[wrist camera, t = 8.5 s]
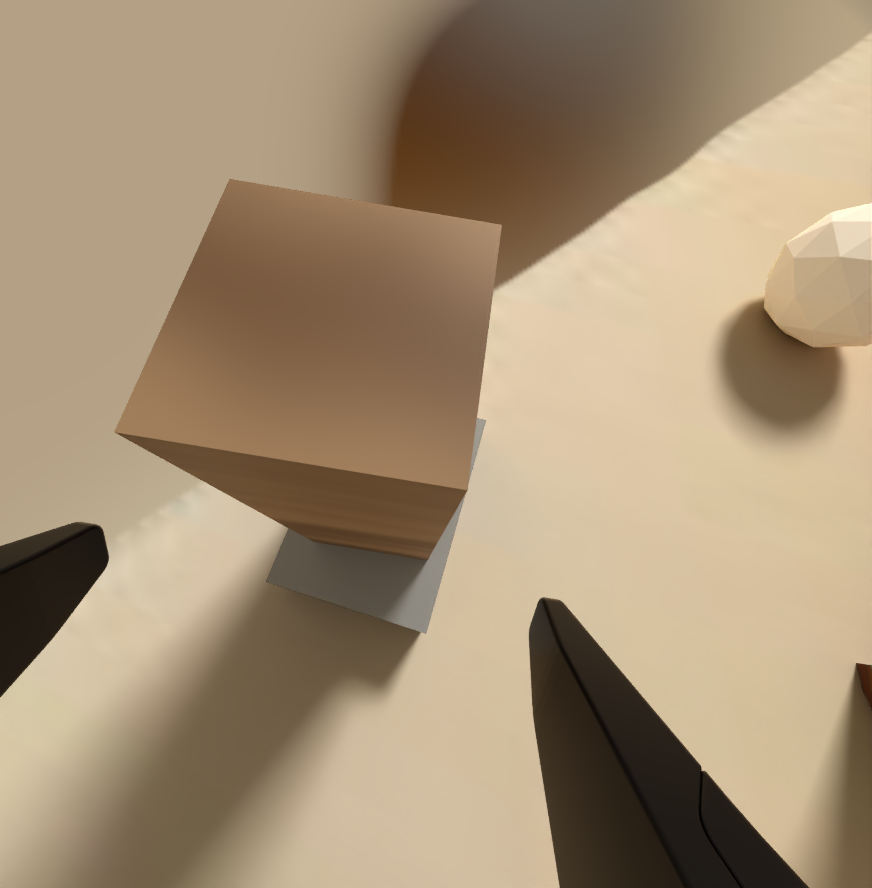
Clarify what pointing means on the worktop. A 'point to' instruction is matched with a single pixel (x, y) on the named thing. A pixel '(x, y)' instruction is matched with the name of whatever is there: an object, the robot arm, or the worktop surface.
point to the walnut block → (326, 365)
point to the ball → (826, 282)
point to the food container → (866, 681)
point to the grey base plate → (368, 573)
